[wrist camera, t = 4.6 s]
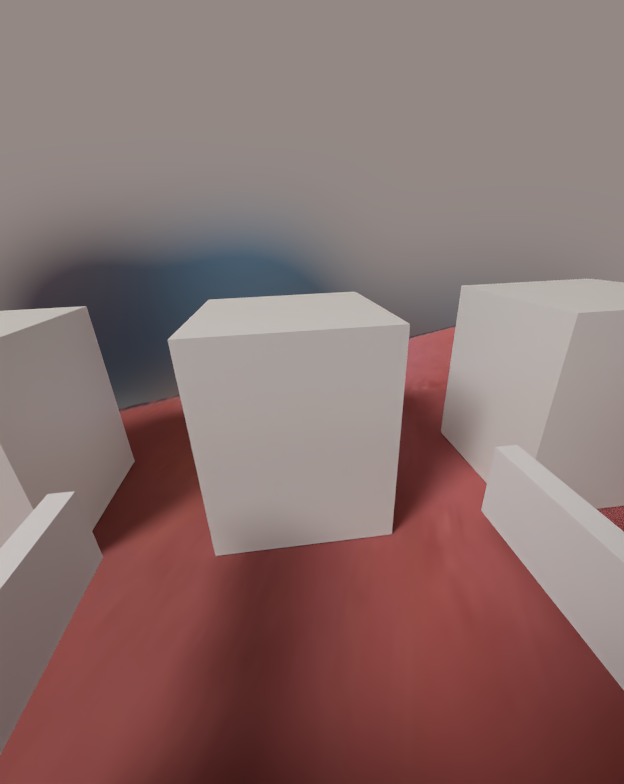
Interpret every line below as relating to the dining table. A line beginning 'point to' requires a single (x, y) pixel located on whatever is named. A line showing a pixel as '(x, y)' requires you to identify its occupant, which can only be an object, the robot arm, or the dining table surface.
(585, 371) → the matte white cube
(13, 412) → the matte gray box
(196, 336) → the tall off-white cuboid
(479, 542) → the dining table surface
